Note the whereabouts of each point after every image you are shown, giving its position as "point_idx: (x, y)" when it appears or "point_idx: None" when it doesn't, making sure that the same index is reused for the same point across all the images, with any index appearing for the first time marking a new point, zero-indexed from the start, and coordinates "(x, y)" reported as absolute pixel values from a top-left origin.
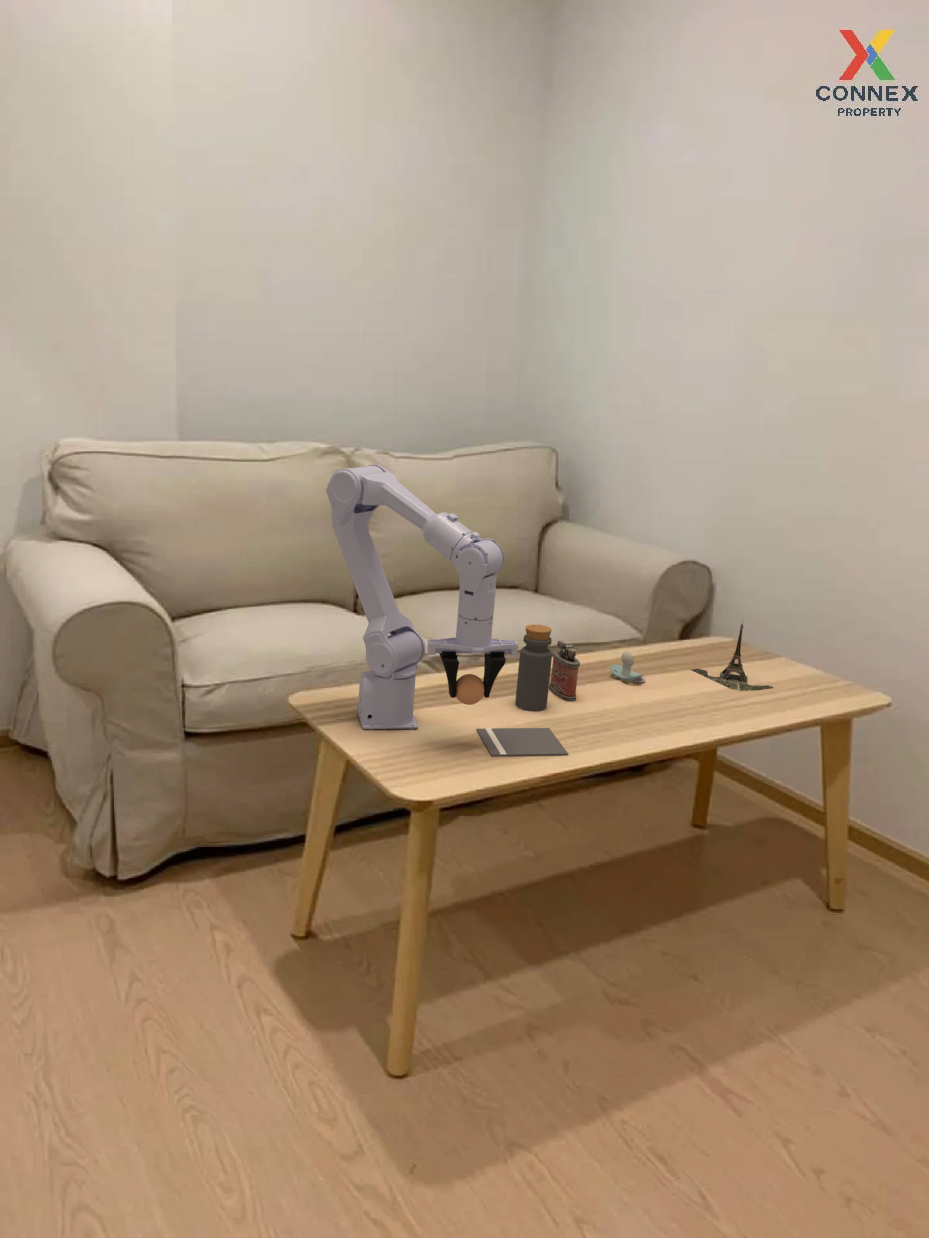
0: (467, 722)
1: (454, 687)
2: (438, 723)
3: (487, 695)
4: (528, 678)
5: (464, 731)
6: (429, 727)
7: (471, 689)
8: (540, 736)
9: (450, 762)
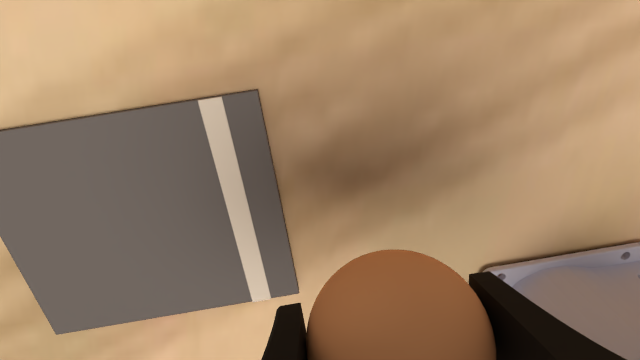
0: None
1: (517, 307)
2: None
3: (287, 311)
4: None
5: None
6: None
7: (410, 295)
8: (78, 269)
9: (420, 15)
